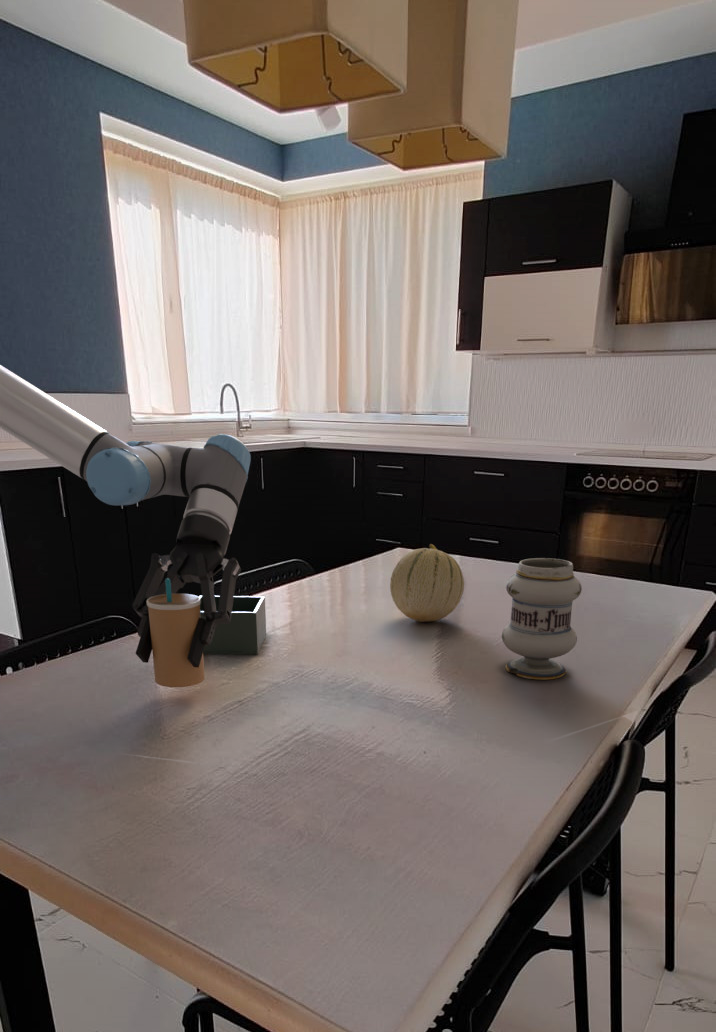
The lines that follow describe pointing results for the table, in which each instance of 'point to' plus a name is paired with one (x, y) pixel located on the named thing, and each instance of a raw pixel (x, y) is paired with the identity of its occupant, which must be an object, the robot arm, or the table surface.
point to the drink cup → (174, 638)
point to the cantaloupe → (427, 584)
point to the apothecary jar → (541, 617)
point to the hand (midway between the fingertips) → (167, 660)
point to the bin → (239, 627)
